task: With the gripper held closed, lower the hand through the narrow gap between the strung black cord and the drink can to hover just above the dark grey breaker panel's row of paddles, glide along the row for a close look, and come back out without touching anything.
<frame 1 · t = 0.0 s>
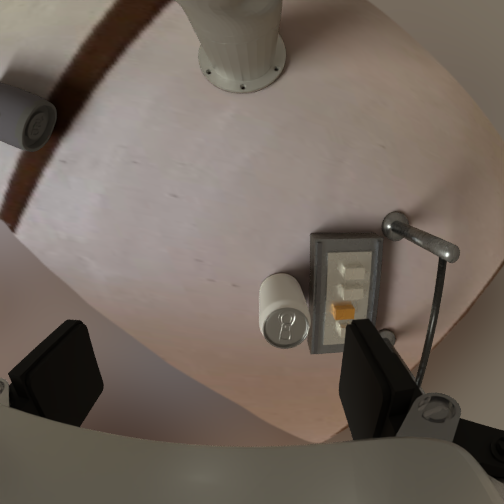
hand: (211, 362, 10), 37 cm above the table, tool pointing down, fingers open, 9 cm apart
can: (280, 291, 49), on the table
breaker panel: (340, 289, 48), on the table
cord stand: (389, 286, 48), on the table
bluetooth speaker: (19, 113, 42), on the table
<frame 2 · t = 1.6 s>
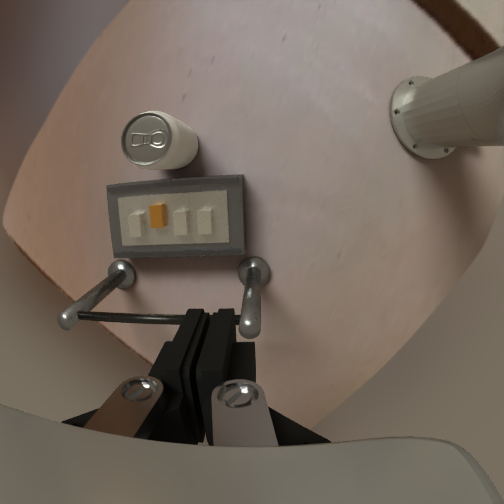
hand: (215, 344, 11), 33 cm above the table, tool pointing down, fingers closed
can: (176, 145, 41), on the table
breaker panel: (179, 214, 43), on the table
cord stand: (184, 272, 45), on the table
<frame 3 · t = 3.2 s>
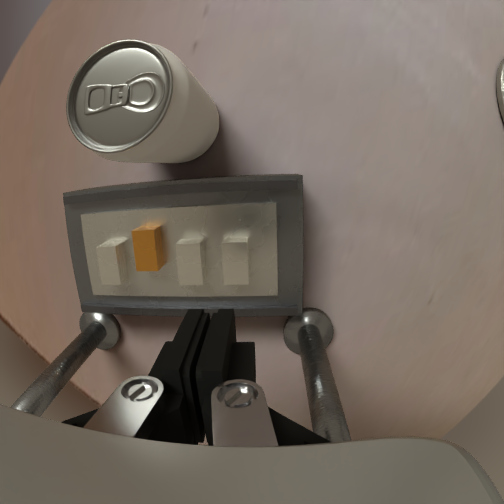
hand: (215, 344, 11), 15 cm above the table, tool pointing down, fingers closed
can: (181, 124, 24), on the table
breaker panel: (187, 239, 26), on the table
cord stand: (196, 331, 28), on the table
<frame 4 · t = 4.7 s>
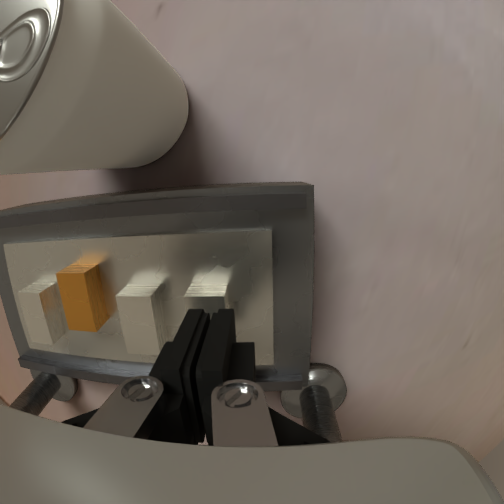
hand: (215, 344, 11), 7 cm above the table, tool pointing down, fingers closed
can: (137, 113, 16), on the table
breaker panel: (147, 275, 18), on the table
cord stand: (167, 389, 20), on the table
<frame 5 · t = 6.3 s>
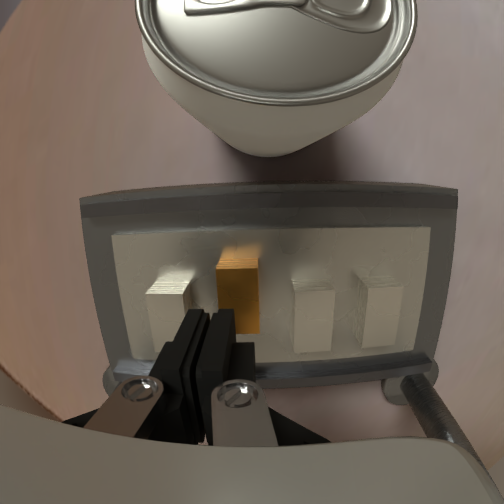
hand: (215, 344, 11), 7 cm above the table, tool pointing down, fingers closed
can: (267, 101, 16), on the table
breaker panel: (272, 270, 18), on the table
cord stand: (272, 389, 20), on the table
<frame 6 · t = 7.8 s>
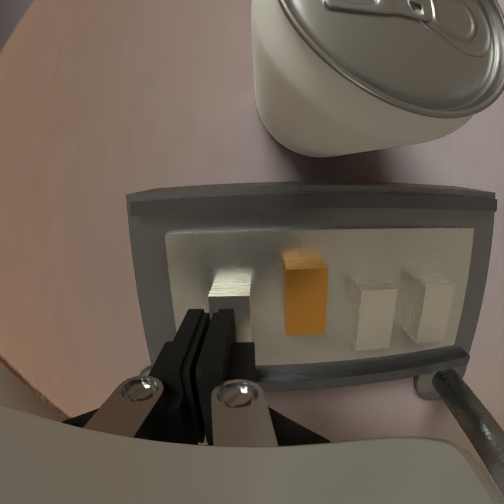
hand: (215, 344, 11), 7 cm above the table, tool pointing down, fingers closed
can: (315, 101, 16), on the table
breaker panel: (318, 270, 18), on the table
cord stand: (312, 389, 20), on the table
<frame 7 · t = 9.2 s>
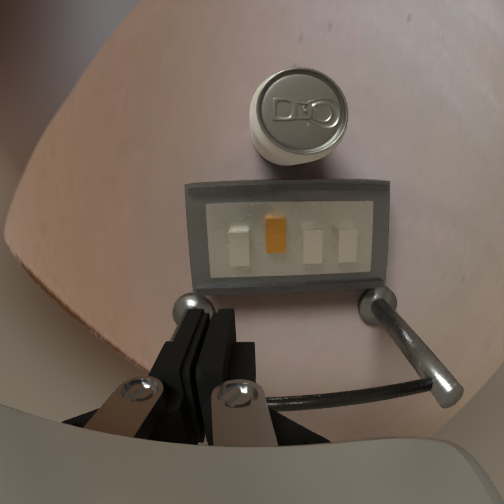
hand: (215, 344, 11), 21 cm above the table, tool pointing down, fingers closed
can: (284, 133, 29), on the table
breaker panel: (287, 230, 31), on the table
cord stand: (287, 309, 33), on the table
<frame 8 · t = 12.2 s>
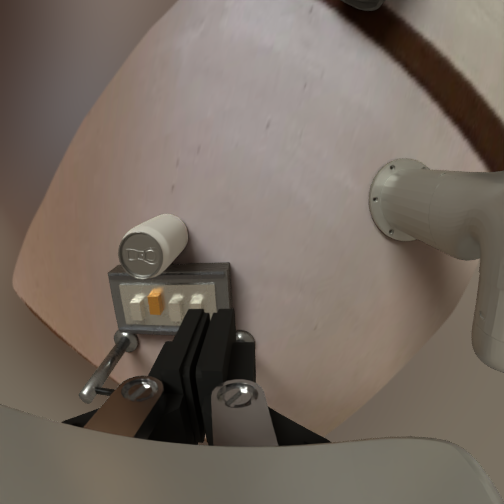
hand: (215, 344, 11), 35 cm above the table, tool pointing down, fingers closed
can: (168, 234, 47), on the table
breaker panel: (174, 294, 49), on the table
cord stand: (180, 341, 51), on the table
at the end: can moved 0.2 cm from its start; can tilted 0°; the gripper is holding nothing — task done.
